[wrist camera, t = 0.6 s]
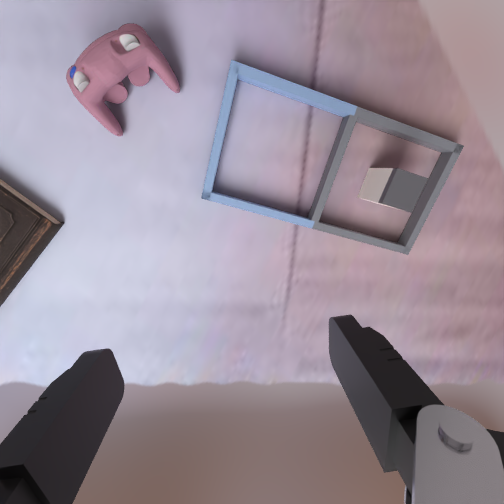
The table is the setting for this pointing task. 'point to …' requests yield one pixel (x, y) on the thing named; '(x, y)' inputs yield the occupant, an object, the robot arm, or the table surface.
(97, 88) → the video game controller
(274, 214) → the two-cell open frame
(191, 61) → the table surface
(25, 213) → the hardcover book
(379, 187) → the grey rectangular block
